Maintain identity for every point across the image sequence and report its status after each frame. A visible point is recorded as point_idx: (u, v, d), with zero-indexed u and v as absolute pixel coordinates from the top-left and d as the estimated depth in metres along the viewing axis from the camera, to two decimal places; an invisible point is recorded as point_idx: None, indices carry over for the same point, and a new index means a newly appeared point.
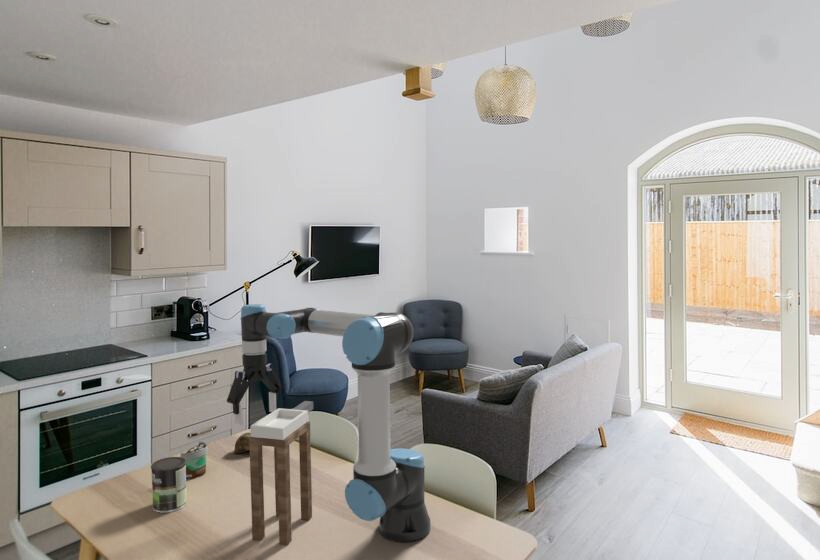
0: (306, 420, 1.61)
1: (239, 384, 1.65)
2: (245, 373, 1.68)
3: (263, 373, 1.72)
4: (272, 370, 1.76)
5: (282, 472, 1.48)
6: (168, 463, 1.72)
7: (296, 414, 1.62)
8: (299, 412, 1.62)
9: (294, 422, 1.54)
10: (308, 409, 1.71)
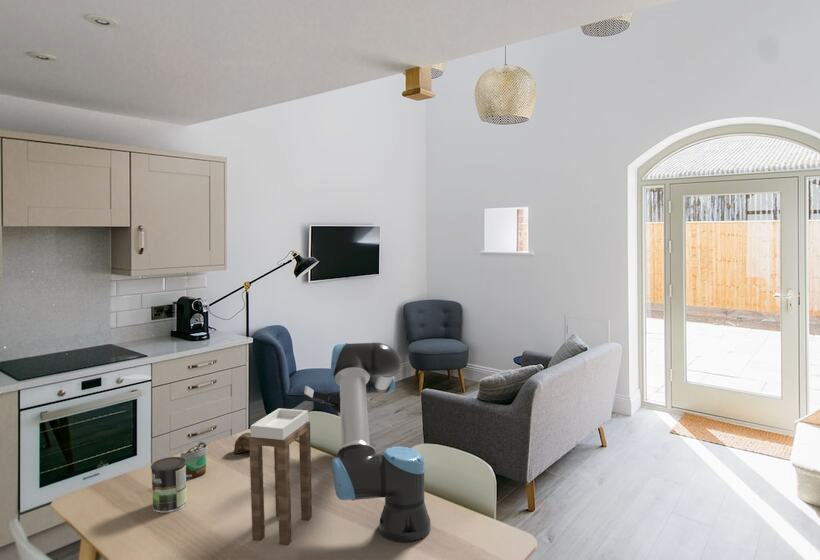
0: (306, 420, 1.61)
1: None
2: None
3: None
4: None
5: (282, 472, 1.48)
6: (168, 463, 1.72)
7: (296, 414, 1.62)
8: (299, 412, 1.62)
9: (294, 422, 1.54)
10: (308, 409, 1.71)
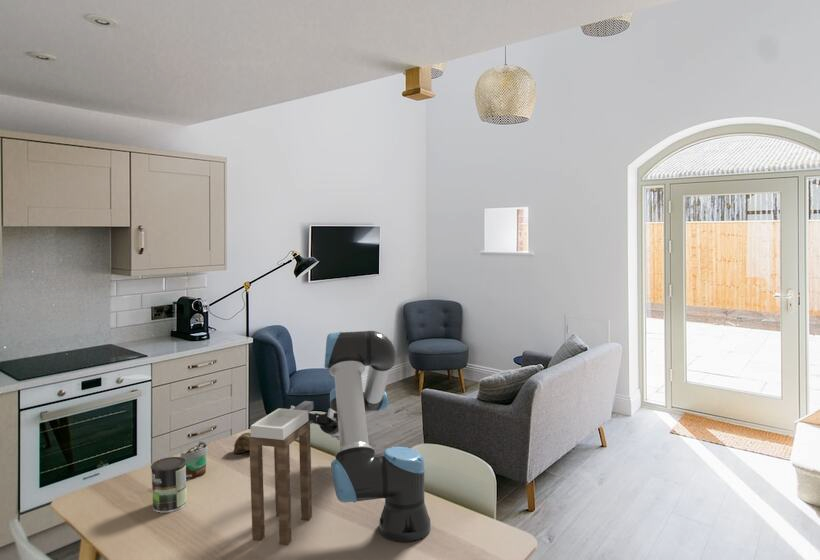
0: (306, 420, 1.61)
1: None
2: None
3: None
4: None
5: (282, 472, 1.48)
6: (168, 463, 1.72)
7: (296, 414, 1.62)
8: (299, 412, 1.62)
9: (294, 422, 1.54)
10: (308, 409, 1.71)
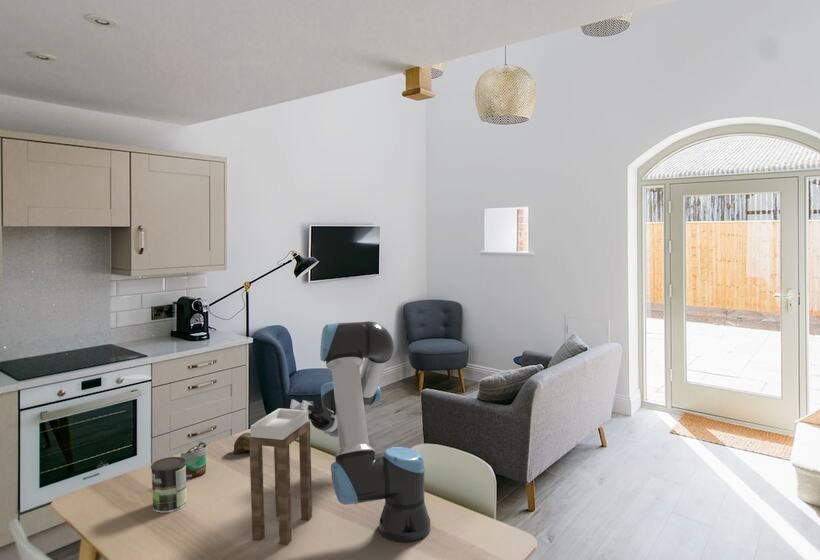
0: (306, 420, 1.61)
1: None
2: None
3: None
4: None
5: (282, 472, 1.48)
6: (168, 463, 1.72)
7: (296, 414, 1.62)
8: (299, 412, 1.62)
9: (294, 422, 1.54)
10: None
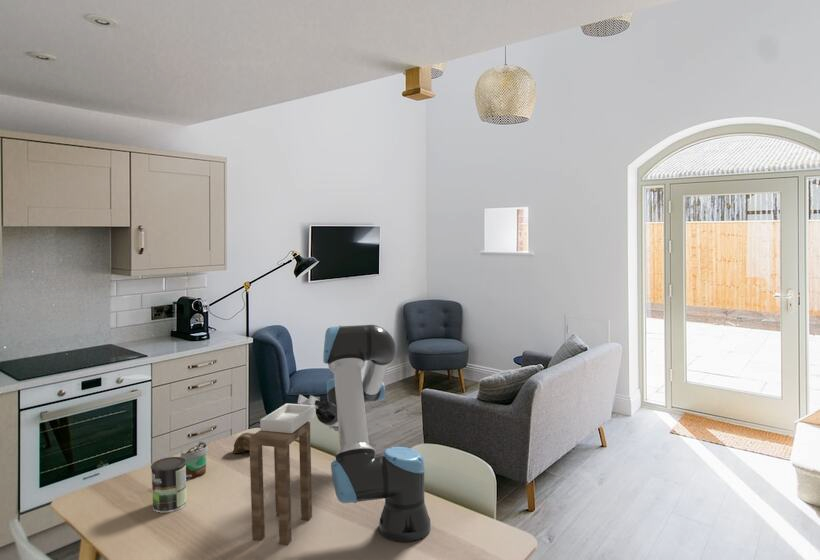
0: (313, 414, 1.66)
1: None
2: None
3: None
4: None
5: (282, 472, 1.48)
6: (168, 463, 1.72)
7: (304, 409, 1.67)
8: (307, 407, 1.67)
9: (302, 416, 1.59)
10: None
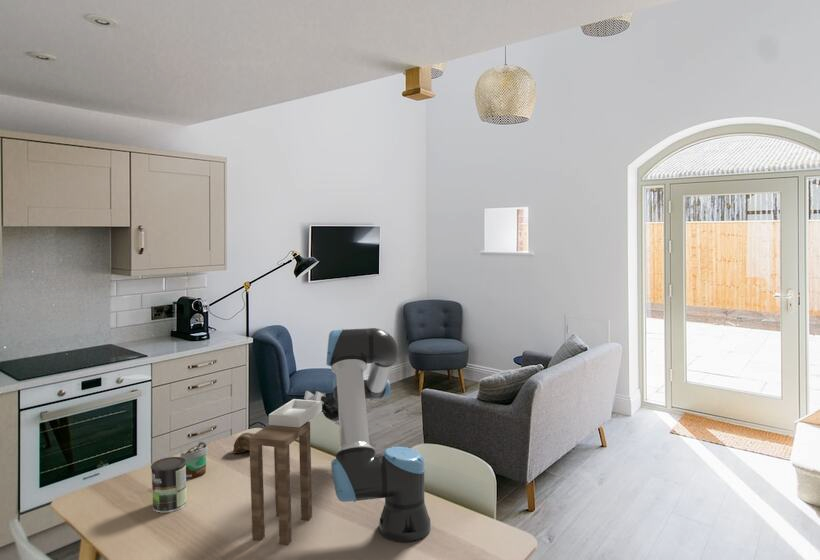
0: (319, 409, 1.71)
1: None
2: None
3: None
4: None
5: (282, 472, 1.48)
6: (168, 463, 1.72)
7: (310, 404, 1.72)
8: (313, 402, 1.72)
9: (309, 411, 1.63)
10: None
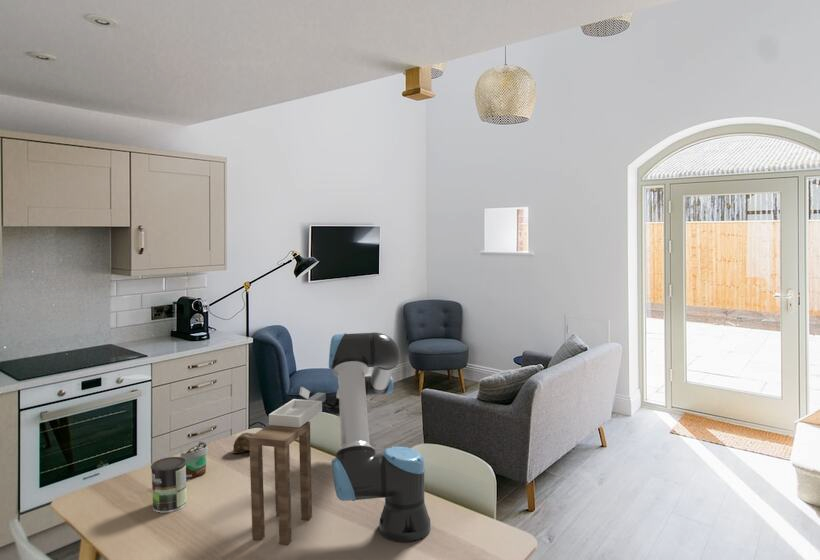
0: (319, 409, 1.71)
1: None
2: None
3: None
4: None
5: (282, 472, 1.48)
6: (168, 463, 1.72)
7: (310, 404, 1.72)
8: (313, 402, 1.72)
9: (309, 411, 1.63)
10: (321, 400, 1.80)
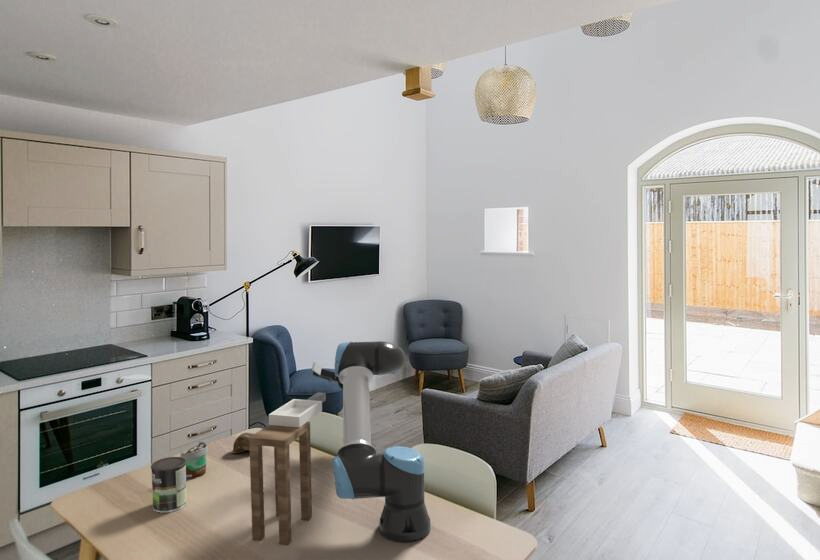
0: (319, 409, 1.71)
1: None
2: None
3: None
4: None
5: (282, 472, 1.48)
6: (168, 463, 1.72)
7: (310, 404, 1.72)
8: (313, 402, 1.72)
9: (309, 411, 1.63)
10: (321, 400, 1.80)
